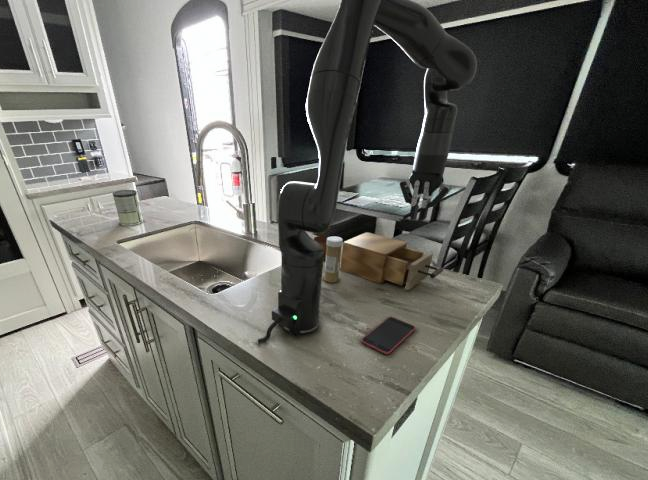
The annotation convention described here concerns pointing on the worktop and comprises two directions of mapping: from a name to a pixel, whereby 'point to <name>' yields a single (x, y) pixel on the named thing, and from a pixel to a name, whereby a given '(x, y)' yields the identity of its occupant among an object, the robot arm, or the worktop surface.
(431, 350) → the worktop surface
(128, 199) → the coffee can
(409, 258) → the block
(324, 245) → the cup and saucer
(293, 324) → the robot arm
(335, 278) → the sprinkles bottle
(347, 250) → the cabinet
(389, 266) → the drawer
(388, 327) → the smartphone
